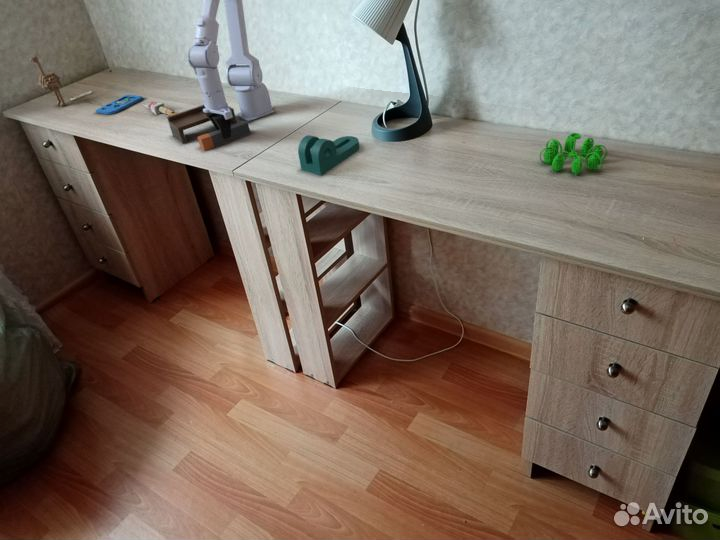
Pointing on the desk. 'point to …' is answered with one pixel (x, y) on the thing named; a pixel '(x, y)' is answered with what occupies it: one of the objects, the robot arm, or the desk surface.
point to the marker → (217, 139)
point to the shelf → (190, 121)
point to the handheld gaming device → (119, 104)
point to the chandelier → (573, 154)
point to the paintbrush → (158, 108)
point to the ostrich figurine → (51, 83)
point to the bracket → (325, 153)
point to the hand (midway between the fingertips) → (224, 136)
